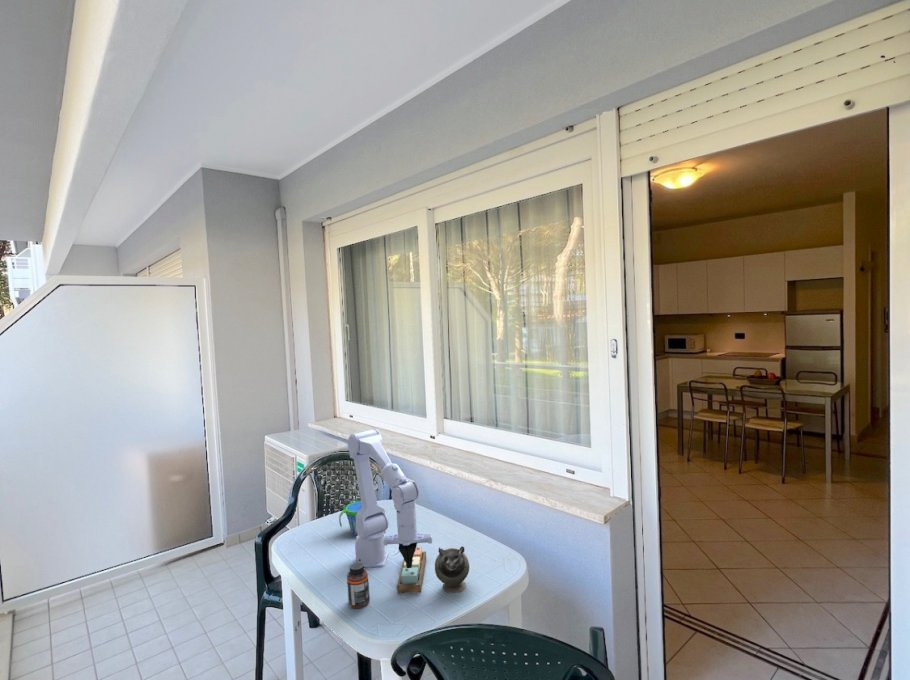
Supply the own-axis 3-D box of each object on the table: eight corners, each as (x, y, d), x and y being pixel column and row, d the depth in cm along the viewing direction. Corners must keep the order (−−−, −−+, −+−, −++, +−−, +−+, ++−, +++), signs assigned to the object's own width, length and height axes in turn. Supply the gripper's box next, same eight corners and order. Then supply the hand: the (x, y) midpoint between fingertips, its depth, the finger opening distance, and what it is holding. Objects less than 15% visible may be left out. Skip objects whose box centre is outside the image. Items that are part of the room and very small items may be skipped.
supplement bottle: (350, 597, 139) (347, 560, 138) (370, 595, 140) (368, 558, 139) (347, 610, 133) (344, 571, 132) (368, 608, 134) (366, 569, 133)
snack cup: (339, 540, 175) (337, 514, 174) (341, 528, 185) (339, 502, 185) (381, 535, 177) (380, 509, 177) (381, 523, 188) (379, 498, 187)
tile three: (406, 564, 153) (406, 554, 153) (408, 556, 158) (408, 547, 158) (421, 563, 153) (420, 553, 153) (422, 556, 158) (421, 546, 158)
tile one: (404, 574, 147) (403, 564, 147) (406, 566, 152) (405, 556, 152) (419, 574, 147) (418, 563, 147) (420, 566, 152) (419, 556, 151)
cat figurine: (443, 601, 135) (476, 591, 139) (439, 561, 134) (473, 552, 138) (432, 583, 145) (463, 574, 148) (429, 545, 144) (460, 537, 147)
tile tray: (397, 593, 140) (397, 585, 140) (405, 559, 159) (405, 552, 159) (421, 592, 140) (420, 584, 140) (426, 558, 159) (426, 551, 159)
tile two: (401, 586, 141) (401, 575, 141) (403, 577, 146) (403, 567, 145) (417, 585, 141) (416, 575, 141) (418, 577, 145) (418, 566, 145)
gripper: (380, 529, 138) (383, 574, 139) (429, 527, 138) (432, 572, 139) (384, 519, 145) (387, 562, 146) (431, 517, 145) (434, 560, 146)
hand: (409, 566), depth 143 cm, fingers closed
